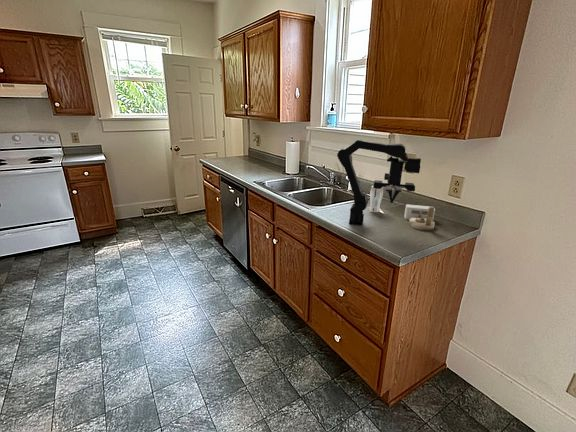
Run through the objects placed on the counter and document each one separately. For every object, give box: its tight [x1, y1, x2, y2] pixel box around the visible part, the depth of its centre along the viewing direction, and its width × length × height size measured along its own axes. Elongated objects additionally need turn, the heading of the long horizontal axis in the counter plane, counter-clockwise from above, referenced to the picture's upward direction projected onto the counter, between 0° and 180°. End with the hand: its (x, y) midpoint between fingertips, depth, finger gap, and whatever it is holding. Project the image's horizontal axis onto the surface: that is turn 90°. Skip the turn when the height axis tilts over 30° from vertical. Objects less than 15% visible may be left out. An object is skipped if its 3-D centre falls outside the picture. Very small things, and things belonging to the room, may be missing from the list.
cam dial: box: [408, 206, 436, 231], centre depth 158 cm, size 12×12×12 cm
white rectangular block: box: [403, 203, 436, 221], centre depth 168 cm, size 14×6×7 cm, turn 77°
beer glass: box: [368, 184, 384, 214], centre depth 178 cm, size 7×7×15 cm
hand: (391, 202), depth 153 cm, fingers closed
